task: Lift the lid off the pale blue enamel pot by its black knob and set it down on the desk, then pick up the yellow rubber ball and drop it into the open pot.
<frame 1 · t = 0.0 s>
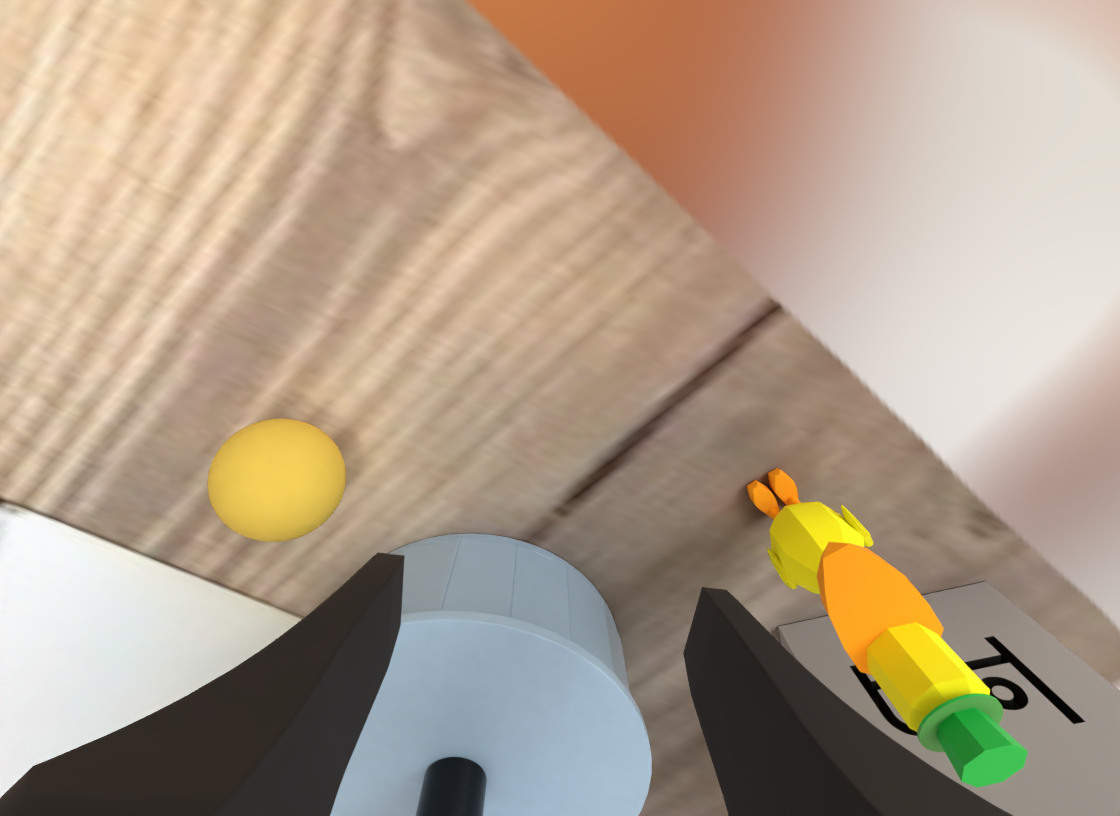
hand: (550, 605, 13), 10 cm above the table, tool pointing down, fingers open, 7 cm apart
lid: (457, 765, 21), point 5 cm above the table, touching pot
toy figure: (769, 486, 23), on the table
icon cube: (883, 677, 27), on the table
ball: (280, 479, 20), point 2 cm above the table
pot: (475, 656, 26), on the table
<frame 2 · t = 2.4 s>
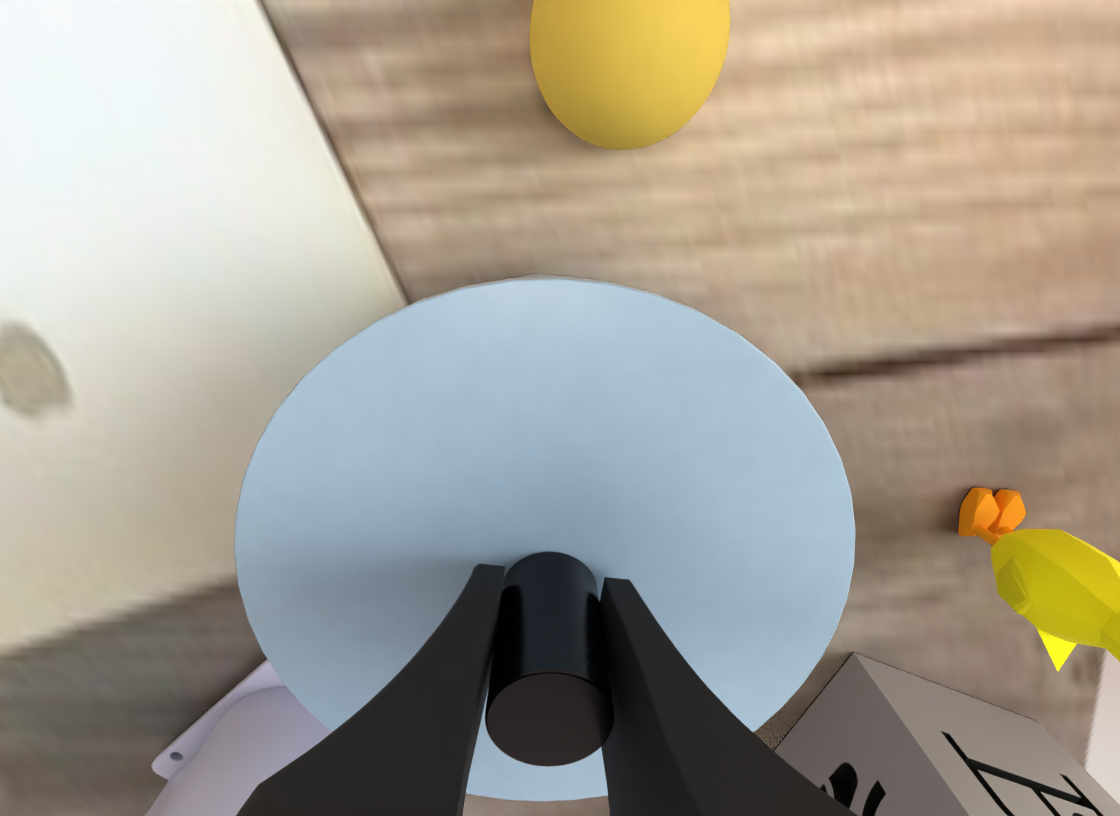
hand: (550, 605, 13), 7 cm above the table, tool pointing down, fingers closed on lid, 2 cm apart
lid: (549, 578, 14), point 6 cm above the table, touching gripper, pot
toy figure: (982, 504, 20), on the table
icon cube: (877, 761, 24), on the table
ball: (627, 40, 12), point 2 cm above the table
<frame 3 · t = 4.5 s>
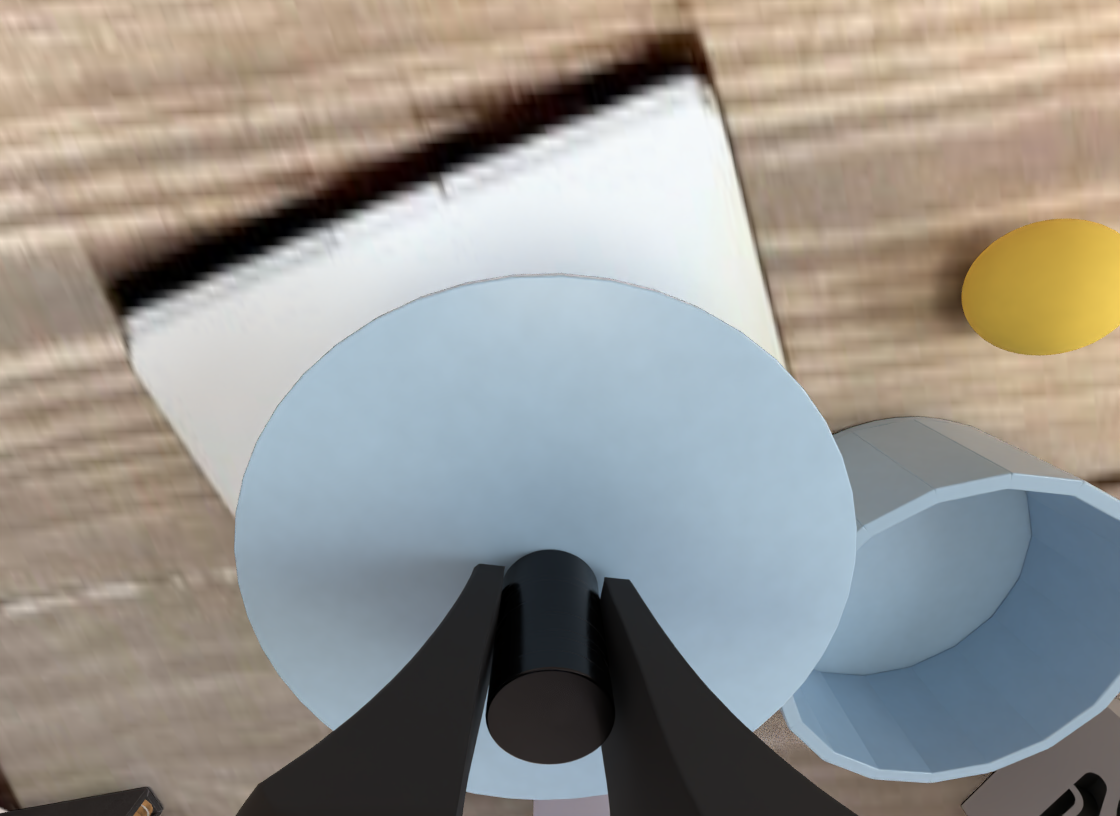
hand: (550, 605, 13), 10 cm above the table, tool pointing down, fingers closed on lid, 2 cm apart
lid: (549, 576, 14), point 9 cm above the table, touching gripper
ammunition clip: (69, 810, 29), on the table
icon cube: (1083, 769, 30), on the table
ball: (1044, 288, 18), point 2 cm above the table
pot: (878, 558, 25), on the table
when the fingers open (2 cm above the table, at t = 6.9 s): lid stays where it is, point 1 cm above the table.
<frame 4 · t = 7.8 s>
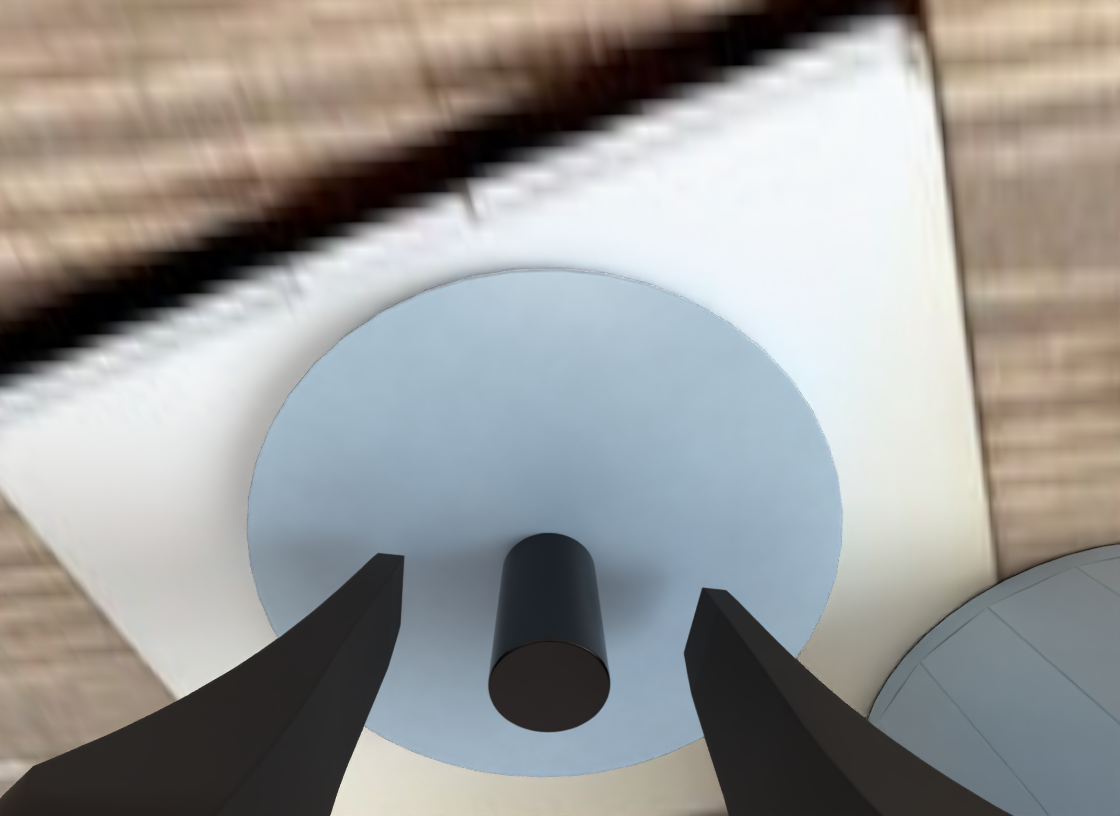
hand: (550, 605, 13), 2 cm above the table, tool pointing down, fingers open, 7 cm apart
lid: (548, 559, 14), point 1 cm above the table
pot: (1075, 722, 17), on the table
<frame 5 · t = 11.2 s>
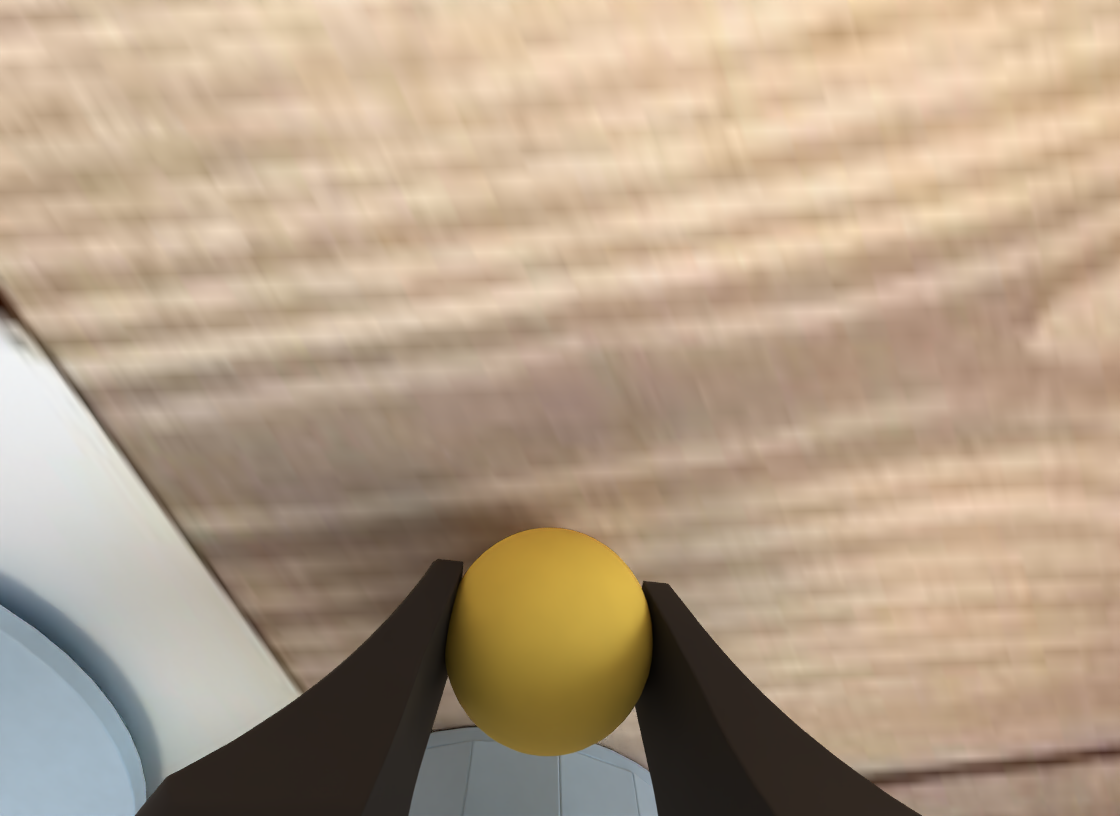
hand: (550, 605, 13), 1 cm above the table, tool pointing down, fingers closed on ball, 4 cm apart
ball: (549, 632, 12), point 2 cm above the table, touching gripper
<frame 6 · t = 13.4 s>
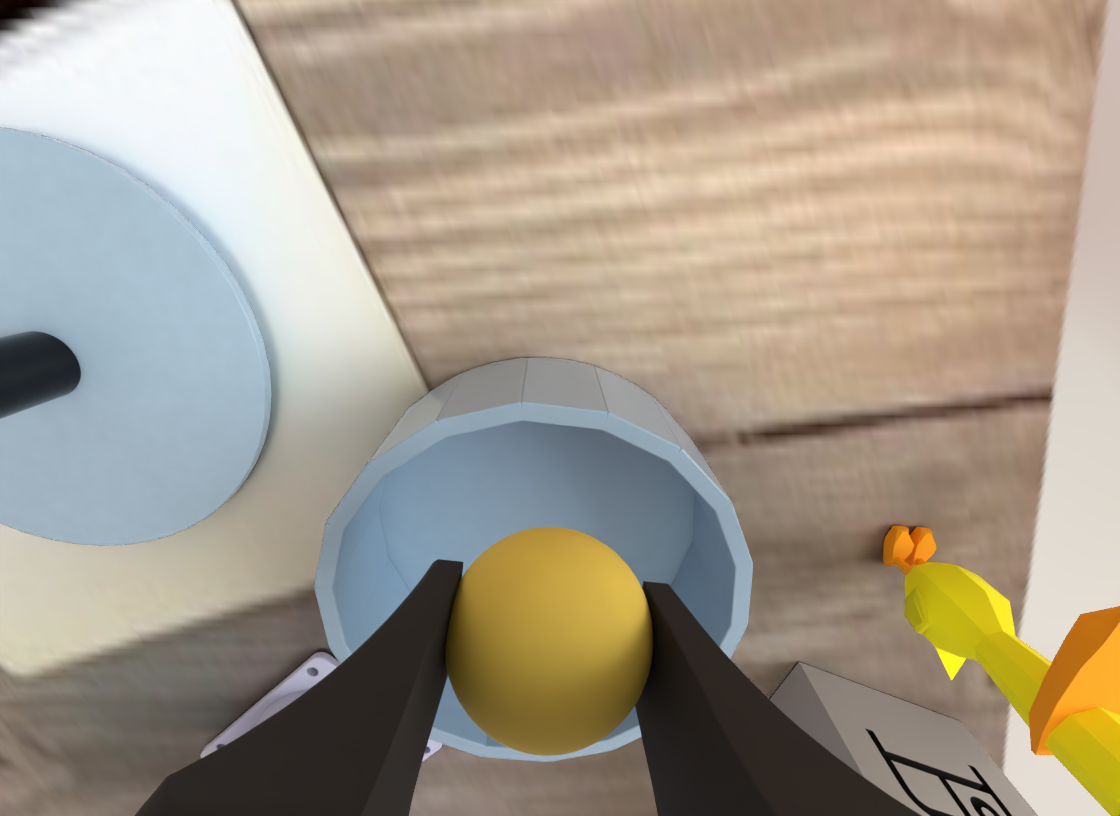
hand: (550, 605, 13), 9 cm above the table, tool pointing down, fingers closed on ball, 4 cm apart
lid: (58, 360, 19), point 1 cm above the table
toy figure: (902, 538, 23), on the table
icon cube: (823, 754, 28), on the table
ball: (549, 632, 12), point 10 cm above the table, touching gripper
pot: (539, 518, 22), on the table
when the fingers open (2 cm above the table, at t = 15.9 s): ball stays where it is, resting on pot.
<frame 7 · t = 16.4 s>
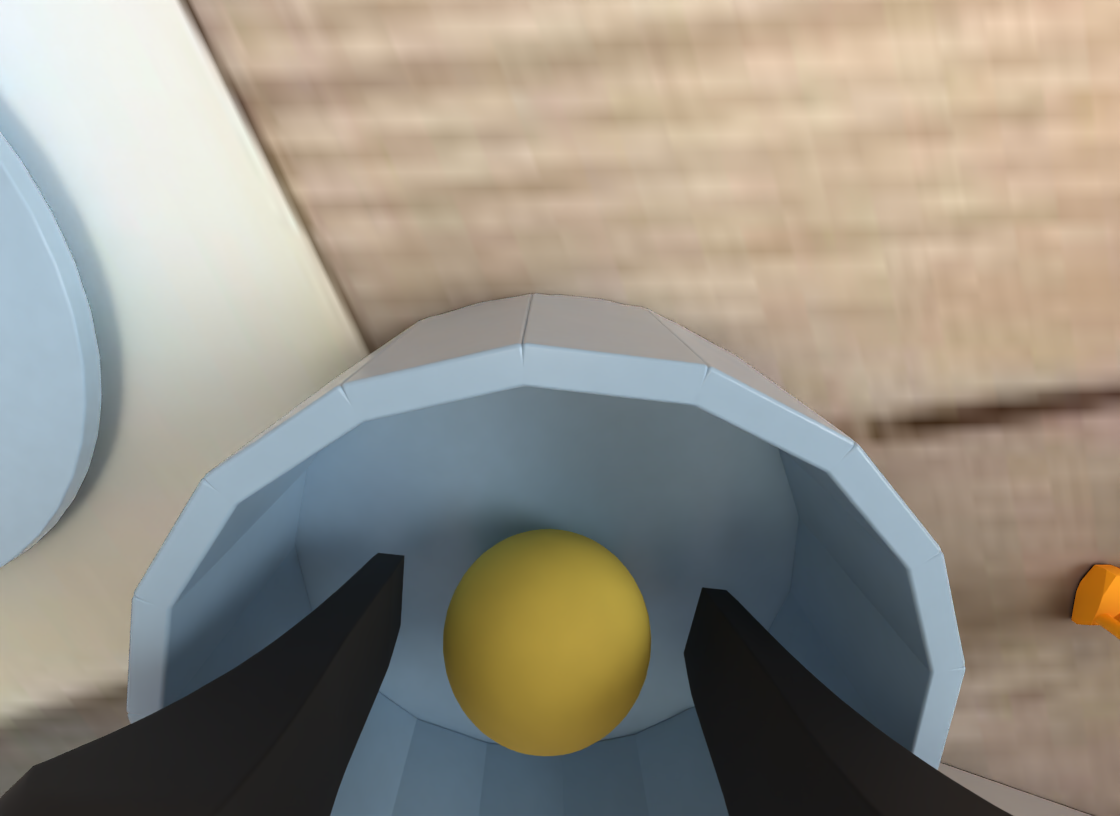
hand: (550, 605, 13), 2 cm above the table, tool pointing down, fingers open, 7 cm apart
toy figure: (1103, 583, 15), on the table
ball: (547, 633, 12), point 3 cm above the table, touching pot
pot: (550, 556, 14), on the table
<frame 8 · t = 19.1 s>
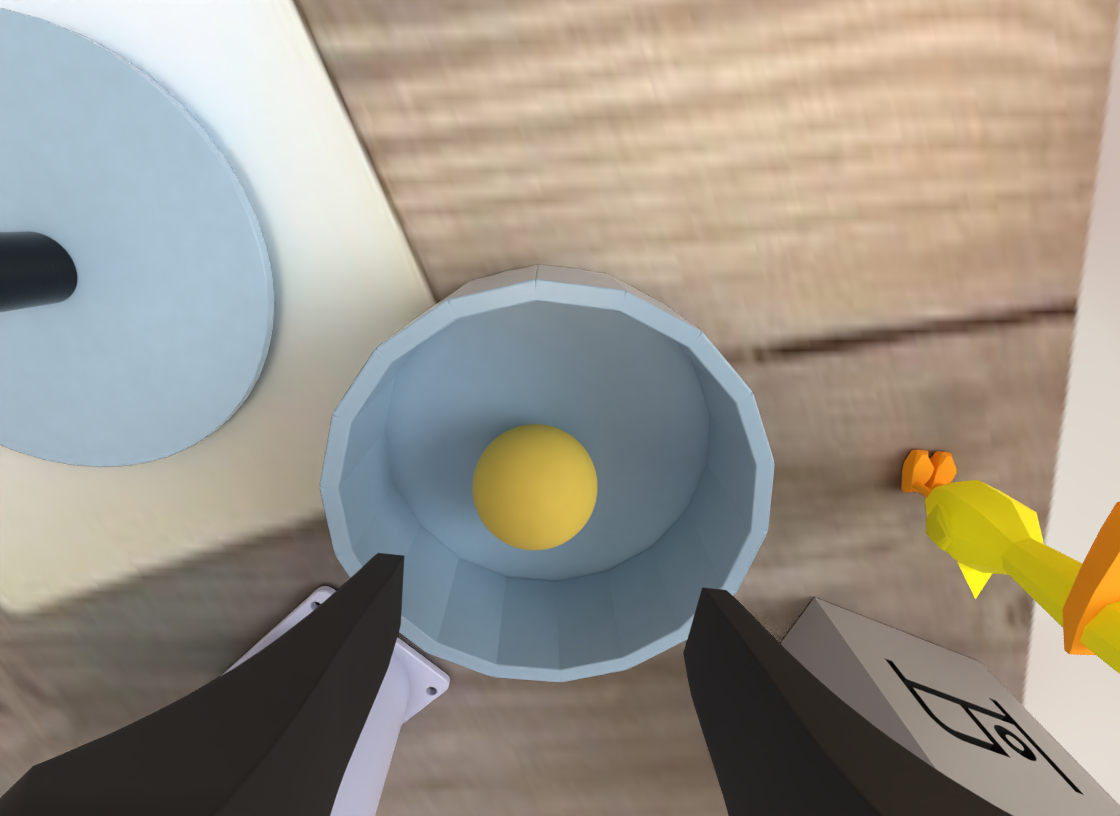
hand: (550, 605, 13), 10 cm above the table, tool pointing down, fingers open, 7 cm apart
lid: (54, 266, 19), point 1 cm above the table
toy figure: (921, 465, 23), on the table
icon cube: (838, 698, 27), on the table
ball: (535, 486, 19), point 3 cm above the table, tilted 20°, touching pot
pot: (549, 441, 22), on the table
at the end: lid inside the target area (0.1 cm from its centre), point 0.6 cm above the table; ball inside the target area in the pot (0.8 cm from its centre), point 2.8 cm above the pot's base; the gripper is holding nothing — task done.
